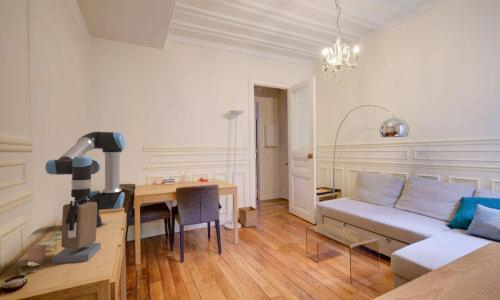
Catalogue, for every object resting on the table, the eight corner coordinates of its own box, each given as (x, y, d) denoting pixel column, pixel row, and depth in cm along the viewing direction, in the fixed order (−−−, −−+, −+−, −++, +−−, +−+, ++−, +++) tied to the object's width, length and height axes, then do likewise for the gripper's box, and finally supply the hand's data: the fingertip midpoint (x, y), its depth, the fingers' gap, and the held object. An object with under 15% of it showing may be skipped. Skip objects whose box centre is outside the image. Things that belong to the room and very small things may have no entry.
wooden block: (77, 250, 102) (79, 206, 102) (60, 247, 104) (61, 204, 104) (96, 241, 112) (98, 201, 112) (80, 240, 114) (81, 200, 114)
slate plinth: (69, 250, 113) (69, 244, 113) (100, 248, 116) (100, 242, 116) (52, 263, 99) (52, 257, 99) (88, 260, 102) (88, 254, 103)
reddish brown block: (33, 260, 102) (33, 245, 102) (48, 259, 103) (49, 244, 103) (23, 267, 96) (24, 250, 96) (39, 265, 97) (40, 249, 97)
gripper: (84, 185, 120) (82, 225, 119) (56, 192, 96) (54, 242, 95) (100, 184, 121) (98, 224, 121) (77, 192, 97) (74, 241, 97)
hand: (79, 232), depth 108 cm, fingers open, 12 cm apart
